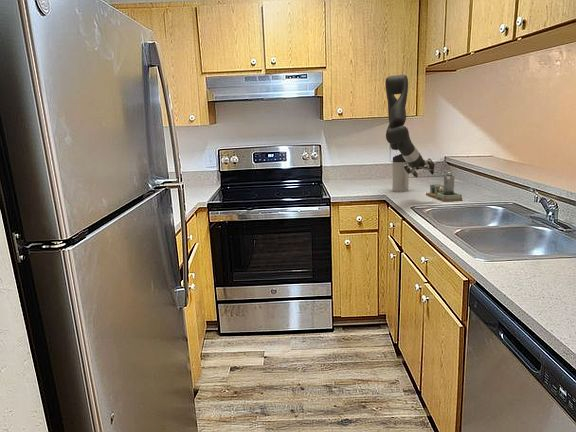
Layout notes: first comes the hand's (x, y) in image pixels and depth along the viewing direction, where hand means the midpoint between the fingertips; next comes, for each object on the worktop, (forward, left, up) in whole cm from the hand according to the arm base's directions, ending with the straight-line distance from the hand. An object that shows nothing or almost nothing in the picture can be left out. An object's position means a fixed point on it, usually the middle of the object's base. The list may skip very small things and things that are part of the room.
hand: (424, 174), depth 232 cm
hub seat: (+4, +11, -12) cm, 17 cm away
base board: (-2, +11, -13) cm, 18 cm away
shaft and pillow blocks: (-8, +11, -12) cm, 18 cm away
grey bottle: (+4, +11, -12) cm, 17 cm away
